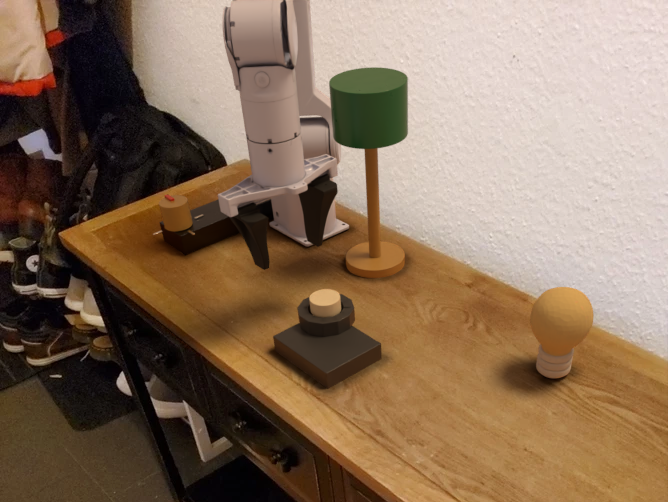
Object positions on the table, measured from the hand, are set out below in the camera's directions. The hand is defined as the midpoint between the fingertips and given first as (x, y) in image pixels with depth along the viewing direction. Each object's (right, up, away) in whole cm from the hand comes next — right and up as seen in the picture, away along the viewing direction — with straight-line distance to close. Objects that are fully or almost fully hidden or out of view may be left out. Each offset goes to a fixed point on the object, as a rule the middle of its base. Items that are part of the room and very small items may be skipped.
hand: (288, 254), depth 86 cm
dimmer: (-13, +11, +23) cm, 29 cm away
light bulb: (+30, -14, -4) cm, 33 cm away
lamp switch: (+4, -6, 0) cm, 8 cm away
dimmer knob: (-18, +10, +19) cm, 28 cm away
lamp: (+10, +3, +14) cm, 18 cm away
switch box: (+5, -11, +1) cm, 12 cm away
